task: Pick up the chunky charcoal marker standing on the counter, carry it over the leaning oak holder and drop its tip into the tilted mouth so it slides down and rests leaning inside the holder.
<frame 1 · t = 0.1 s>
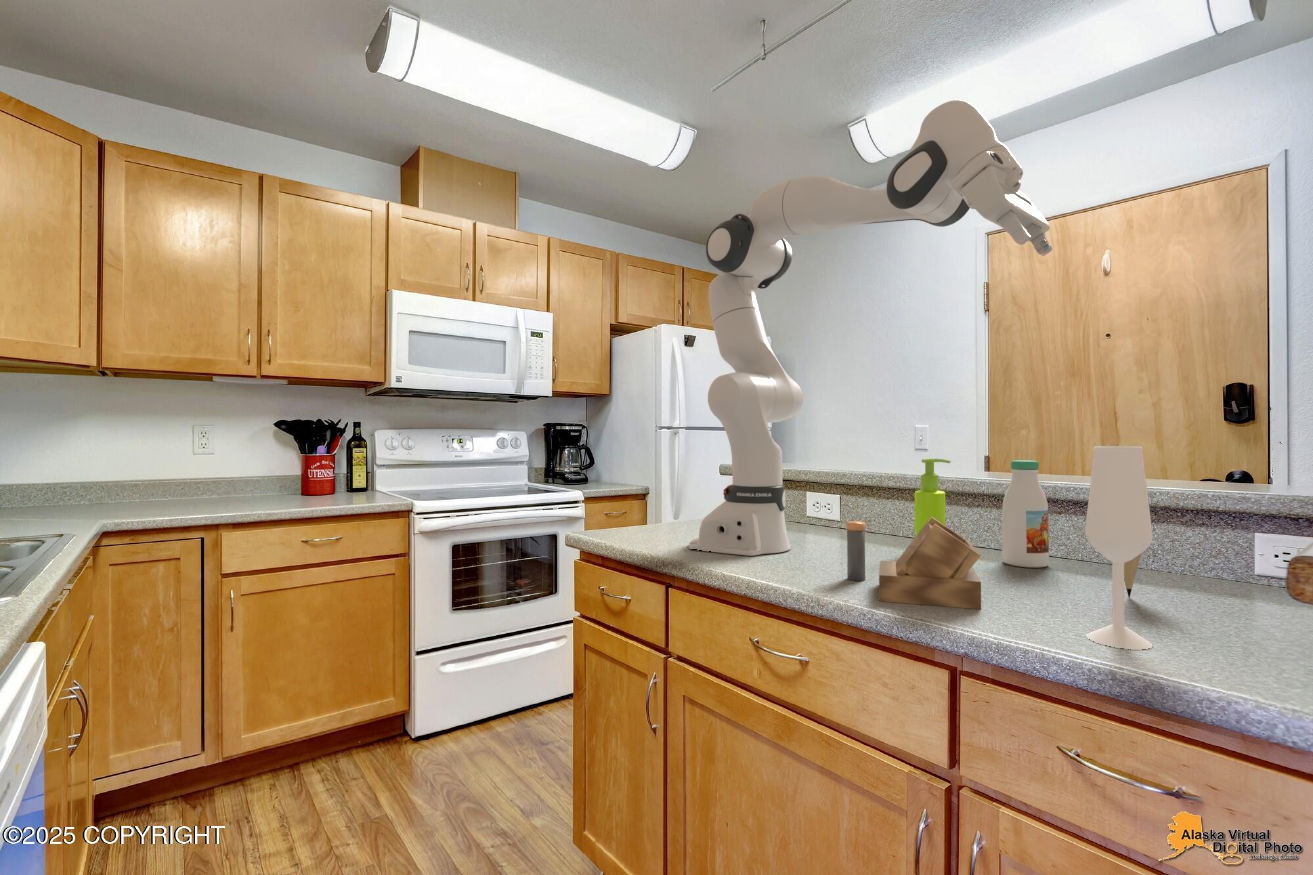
hand: (1036, 247, 96), 54 cm above the counter, tool tilted 30°, fingers open, 8 cm apart
holder: (926, 595, 98), on the counter
milk bottle: (1025, 565, 120), on the counter
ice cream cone: (1128, 599, 96), on the counter
champagne flute: (1118, 642, 77), on the counter
marker: (856, 579, 110), on the counter
soap dispenser: (932, 555, 130), on the counter
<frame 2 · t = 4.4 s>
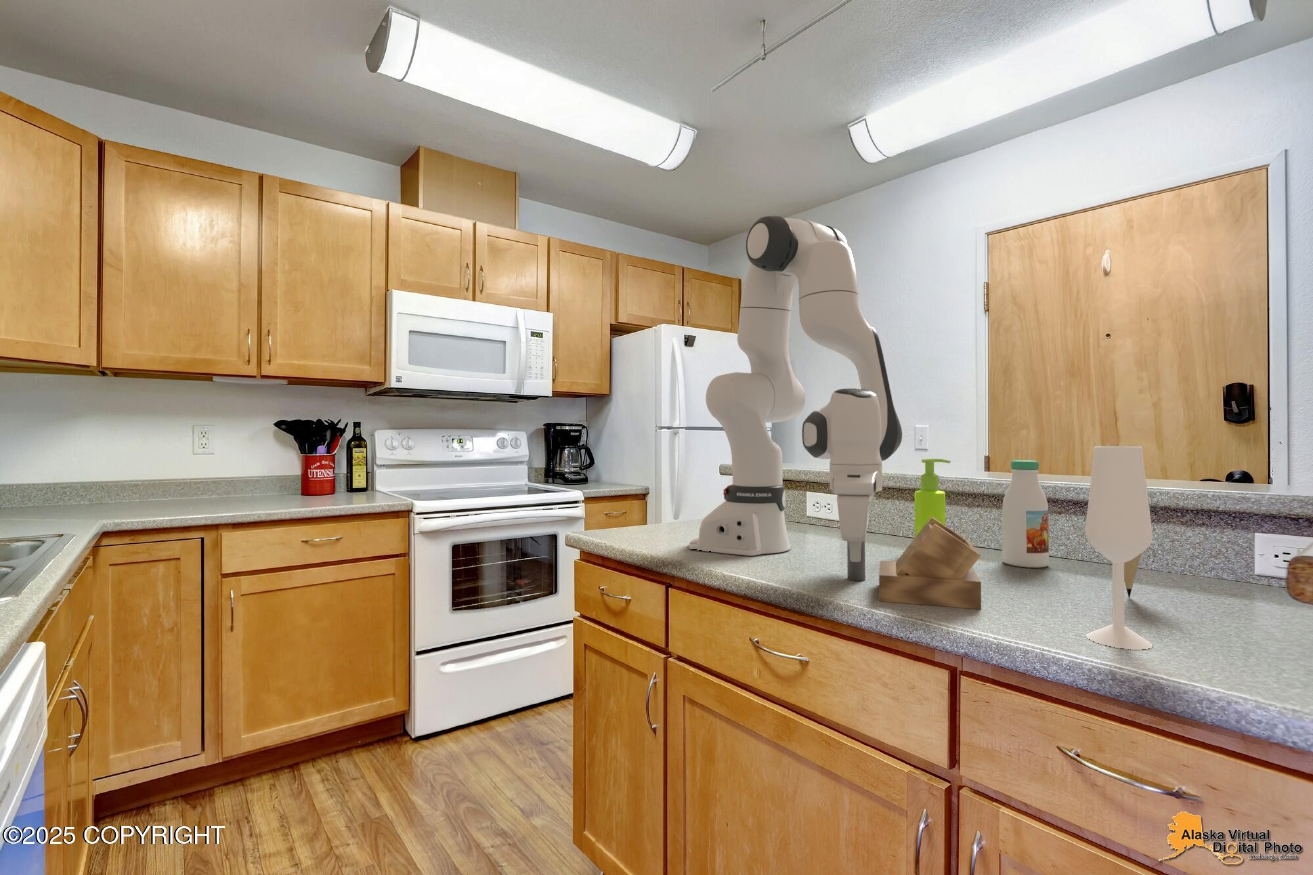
hand: (856, 558, 110), 4 cm above the counter, tool pointing down, fingers closed on marker, 3 cm apart
marker: (856, 579, 110), on the counter, touching gripper
everything else where it was.
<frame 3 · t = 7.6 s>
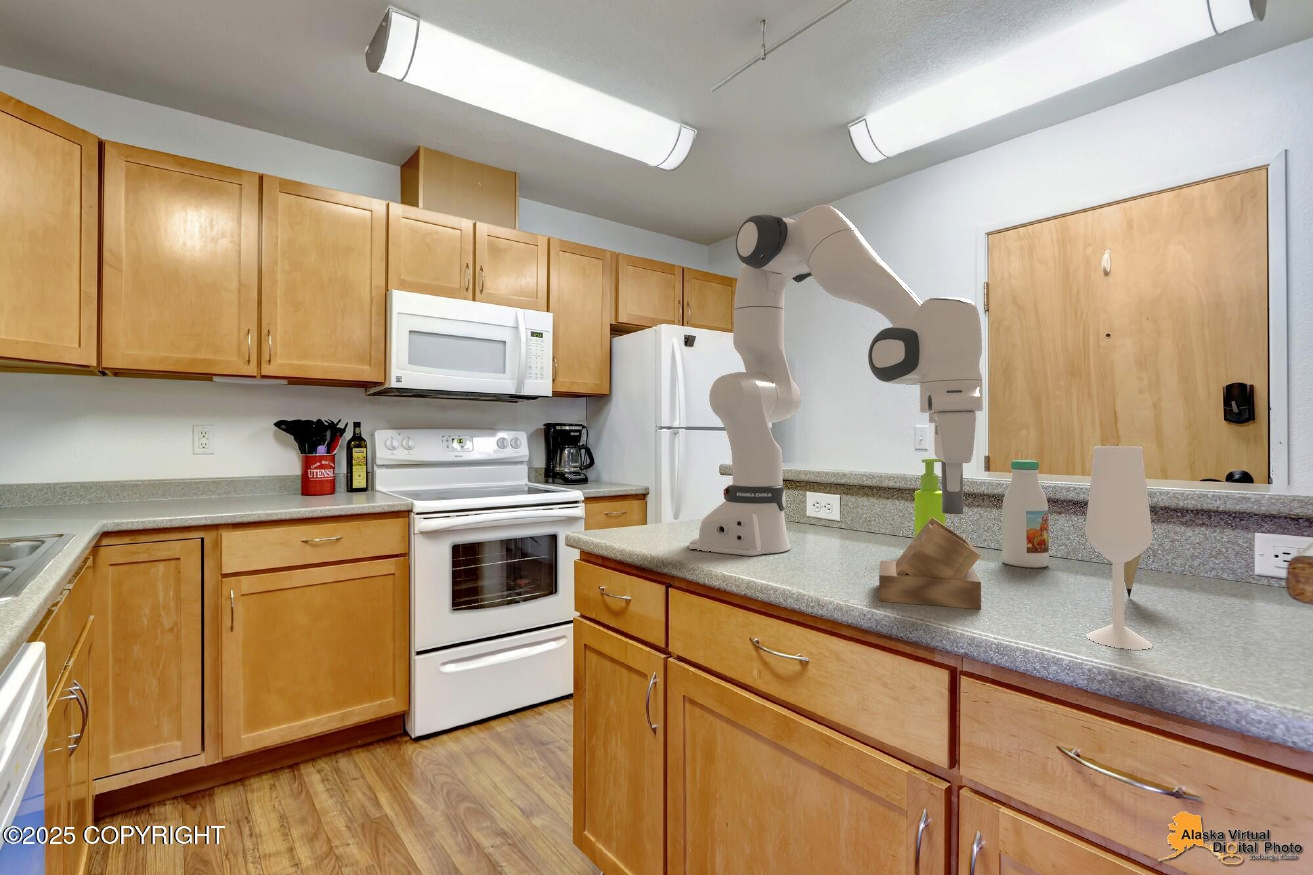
hand: (951, 489, 97), 17 cm above the counter, tool pointing down, fingers closed on marker, 3 cm apart
marker: (952, 512, 97), point 13 cm above the counter, touching gripper
everything else where it was.
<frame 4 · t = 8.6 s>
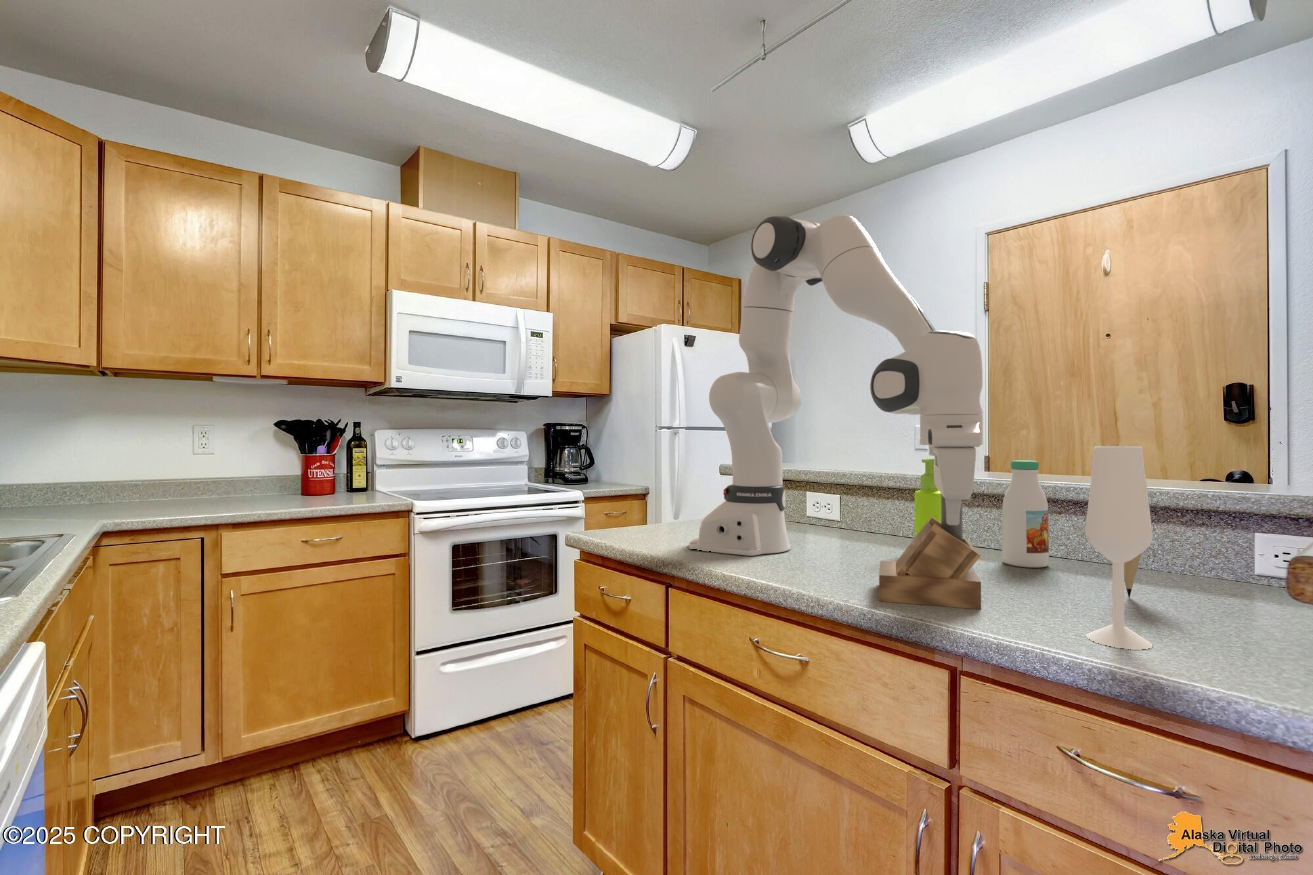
hand: (951, 522, 97), 12 cm above the counter, tool pointing down, fingers closed on marker, 3 cm apart
marker: (951, 545, 97), point 8 cm above the counter, touching gripper
everything else where it was.
when the fingers open (12 cm above the counter, at t = 8.7 s): marker drops 1 cm, resting on holder.
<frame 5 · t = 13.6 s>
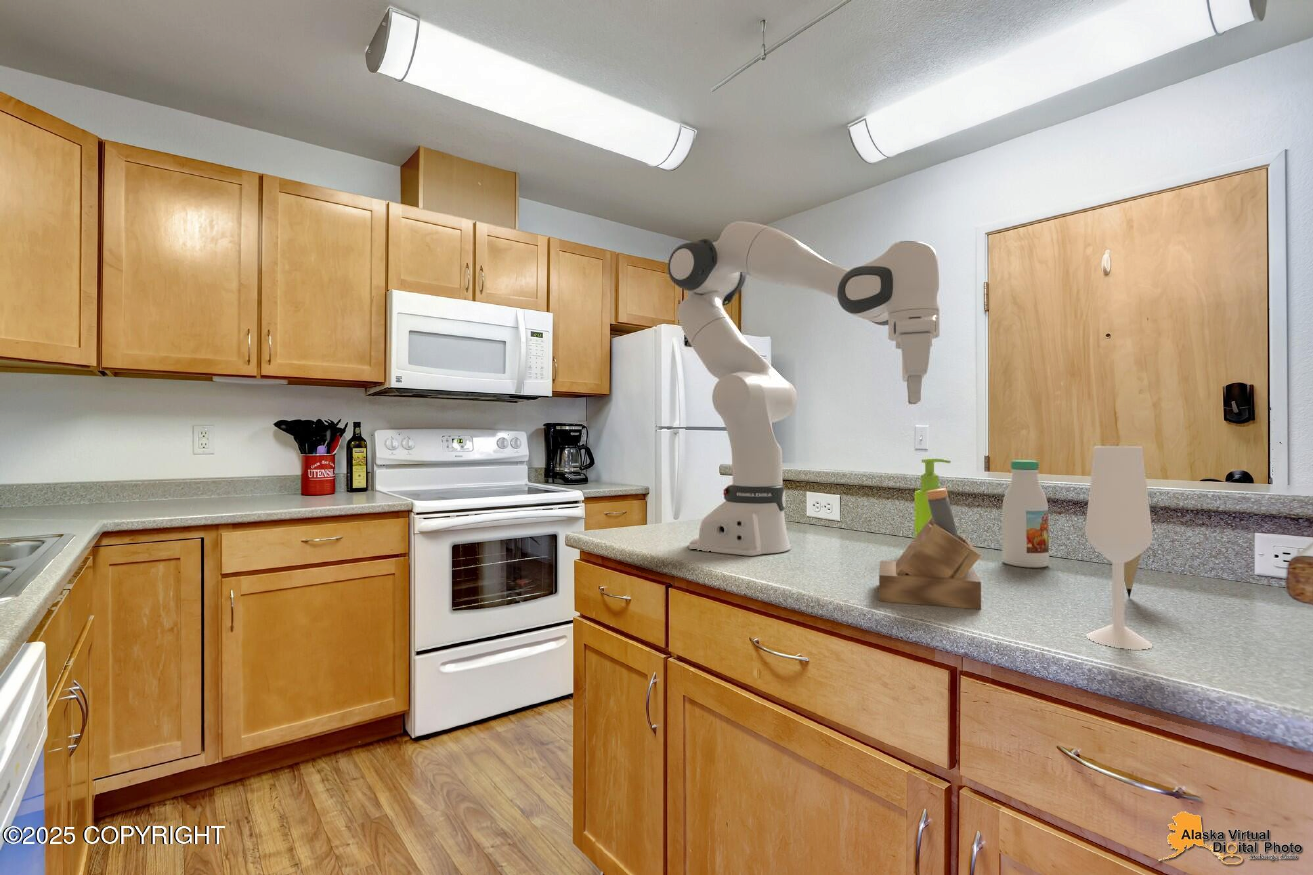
hand: (914, 403, 116), 31 cm above the counter, tool pointing down, fingers open, 8 cm apart
marker: (951, 552, 97), point 7 cm above the counter, tilted 13°, touching holder
everything else where it was.
at the end: marker inside the target area on the holder (2.9 cm from its centre), point 7.0 cm above the holder's base; marker tilted 13°; the gripper is holding nothing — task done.
